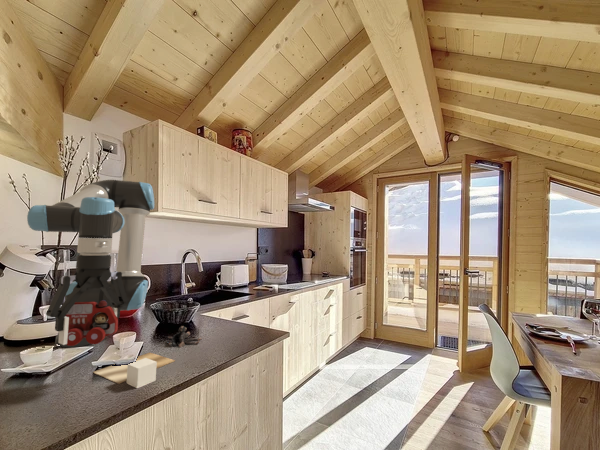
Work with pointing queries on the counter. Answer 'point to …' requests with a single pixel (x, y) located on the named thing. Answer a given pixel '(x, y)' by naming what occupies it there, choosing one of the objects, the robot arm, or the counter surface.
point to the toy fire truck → (90, 322)
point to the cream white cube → (141, 372)
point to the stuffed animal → (182, 338)
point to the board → (120, 372)
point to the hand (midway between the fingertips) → (88, 336)
